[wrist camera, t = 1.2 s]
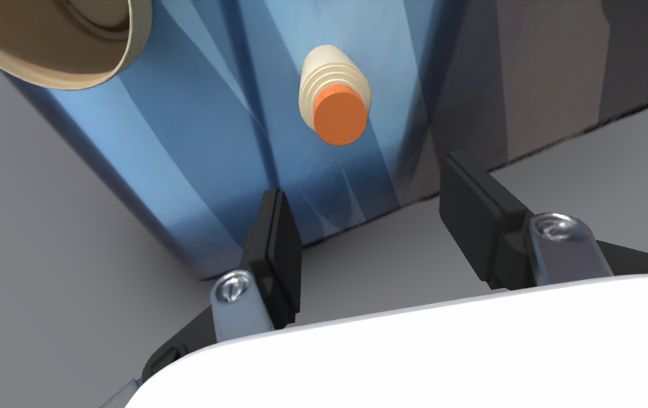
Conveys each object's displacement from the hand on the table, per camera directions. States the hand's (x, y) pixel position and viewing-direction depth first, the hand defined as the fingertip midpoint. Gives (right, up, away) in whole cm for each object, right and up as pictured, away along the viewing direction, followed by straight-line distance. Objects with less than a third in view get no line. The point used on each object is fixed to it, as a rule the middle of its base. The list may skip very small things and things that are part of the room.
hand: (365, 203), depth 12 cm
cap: (0, +6, +9) cm, 11 cm away
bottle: (-1, +17, +24) cm, 30 cm away
